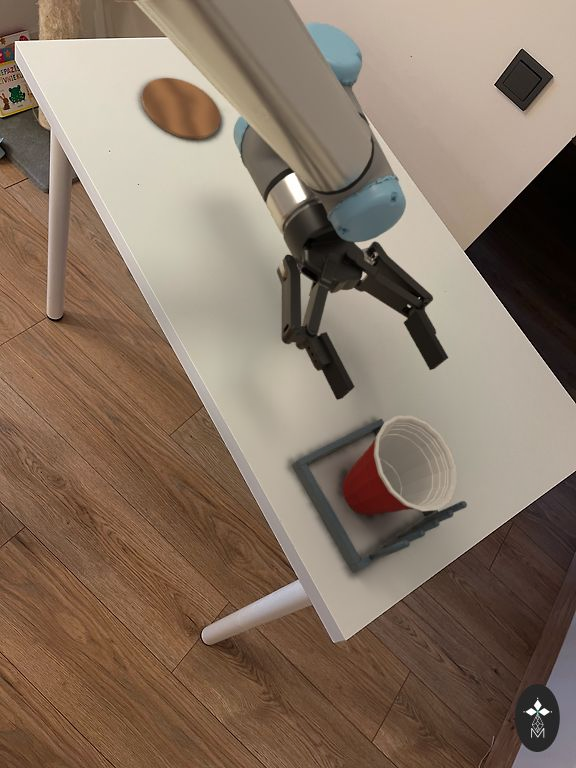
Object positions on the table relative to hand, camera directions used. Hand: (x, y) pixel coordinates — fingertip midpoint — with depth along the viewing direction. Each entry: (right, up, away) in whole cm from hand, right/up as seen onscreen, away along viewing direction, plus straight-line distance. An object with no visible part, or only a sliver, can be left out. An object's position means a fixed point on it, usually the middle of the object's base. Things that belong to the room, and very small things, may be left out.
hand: (395, 378), depth 64 cm
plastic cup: (-2, -14, +10) cm, 17 cm away
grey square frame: (-2, -14, +10) cm, 17 cm away
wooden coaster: (-28, +41, +27) cm, 57 cm away
